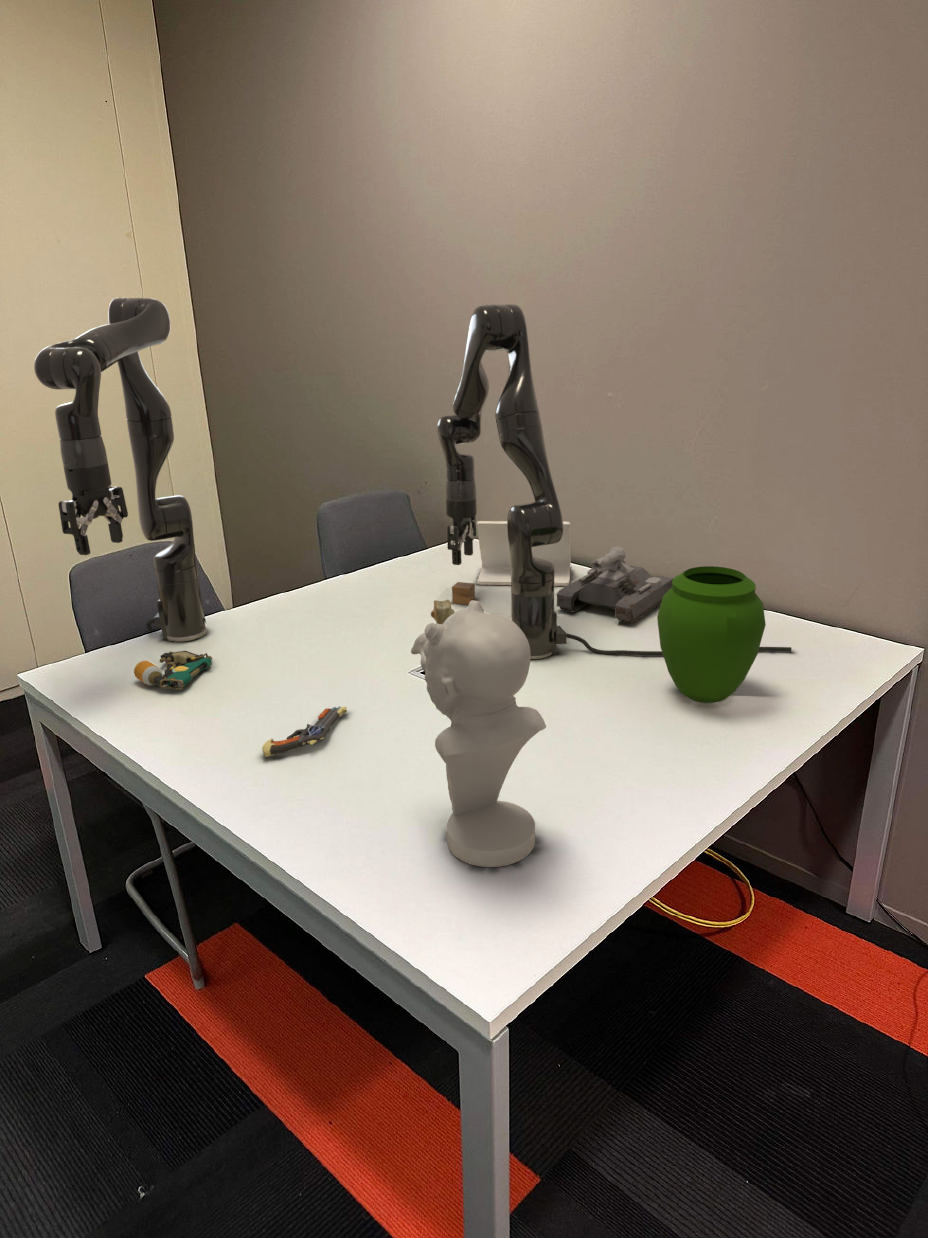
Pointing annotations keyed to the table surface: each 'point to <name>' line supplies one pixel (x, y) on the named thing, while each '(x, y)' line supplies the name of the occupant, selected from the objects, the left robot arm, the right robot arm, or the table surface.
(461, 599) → the block
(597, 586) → the toy
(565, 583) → the tablet stand
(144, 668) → the spray gun
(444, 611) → the sculpture
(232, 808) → the table surface
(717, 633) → the vase
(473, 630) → the bust sculpture
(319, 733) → the toy gun
